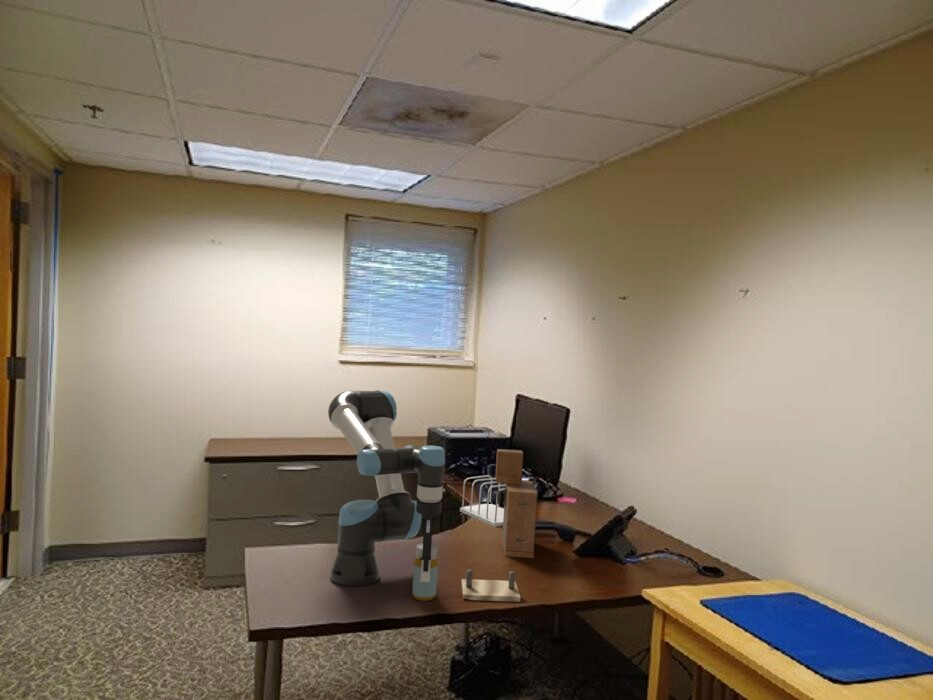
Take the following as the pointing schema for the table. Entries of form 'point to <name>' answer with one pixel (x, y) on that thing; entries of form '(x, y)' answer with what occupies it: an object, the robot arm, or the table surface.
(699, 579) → the table surface
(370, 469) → the robot arm
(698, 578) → the table surface
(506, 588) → the peg stand
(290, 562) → the table surface
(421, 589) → the bottle
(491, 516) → the file sorter
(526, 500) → the tan tall stacked block
